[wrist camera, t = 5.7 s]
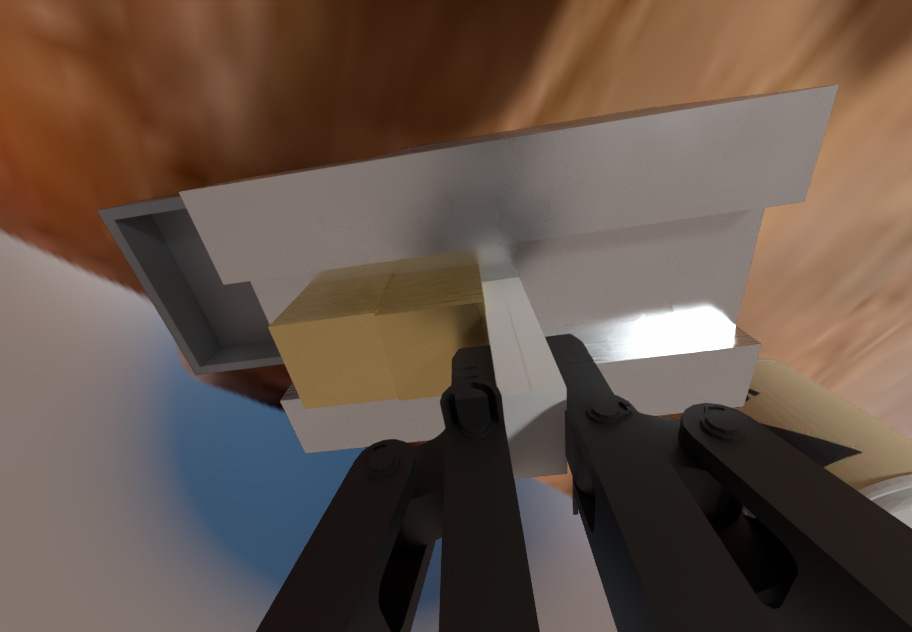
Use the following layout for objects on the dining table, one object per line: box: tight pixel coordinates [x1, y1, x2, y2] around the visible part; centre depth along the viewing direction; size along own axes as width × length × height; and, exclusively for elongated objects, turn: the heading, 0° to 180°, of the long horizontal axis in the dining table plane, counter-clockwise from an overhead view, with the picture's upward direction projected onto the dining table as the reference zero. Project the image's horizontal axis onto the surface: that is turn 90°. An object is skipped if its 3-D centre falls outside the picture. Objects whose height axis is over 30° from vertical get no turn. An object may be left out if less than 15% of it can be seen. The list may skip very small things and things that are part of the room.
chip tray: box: [97, 195, 284, 375], centre depth 22 cm, size 11×12×3 cm
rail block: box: [179, 85, 839, 453], centre depth 18 cm, size 12×20×10 cm, turn 98°
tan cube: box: [375, 264, 489, 401], centre depth 13 cm, size 4×4×4 cm
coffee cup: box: [733, 359, 912, 528], centre depth 23 cm, size 9×9×12 cm
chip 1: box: [268, 274, 398, 409], centre depth 14 cm, size 4×4×4 cm
